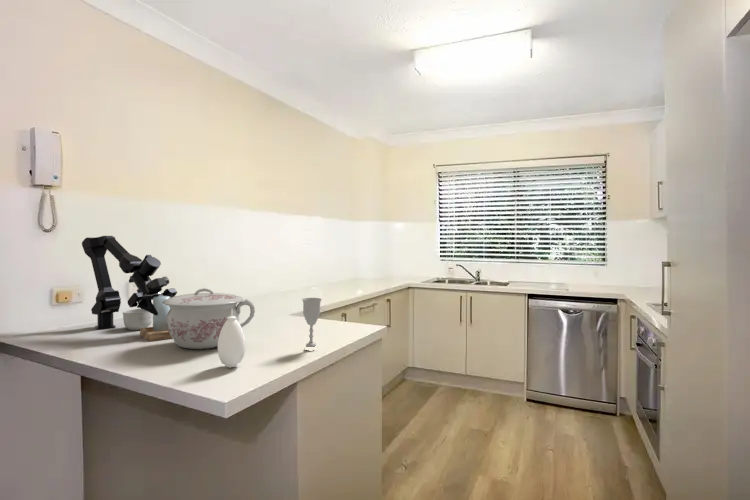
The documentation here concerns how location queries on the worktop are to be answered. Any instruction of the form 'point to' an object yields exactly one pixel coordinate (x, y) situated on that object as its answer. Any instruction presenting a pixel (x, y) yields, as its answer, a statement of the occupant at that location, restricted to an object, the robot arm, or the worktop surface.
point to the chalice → (311, 315)
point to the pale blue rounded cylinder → (160, 314)
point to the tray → (154, 334)
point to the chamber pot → (202, 317)
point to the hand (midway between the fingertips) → (163, 313)
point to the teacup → (137, 319)
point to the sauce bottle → (231, 342)
